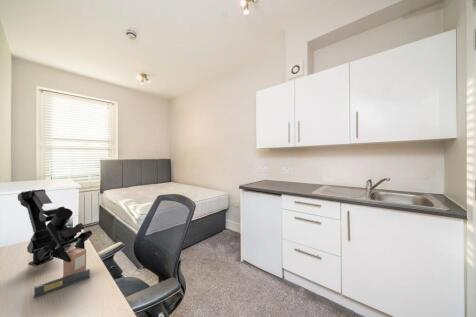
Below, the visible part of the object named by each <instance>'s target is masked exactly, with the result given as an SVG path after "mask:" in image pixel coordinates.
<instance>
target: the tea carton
mask: <svg viewBox="0 0 476 317" xmlns="http://www.w3.org/2000/svg"><path fill="white" fill-rule="evenodd" d="M65 252H66V253H67V254H68V256H69V257H70V259H71V261H70V262H66V261H64V260H62V261H63V263H62V264H63V265H62V266H63V267H62V268H63V270H62V277H66V276H69V275H72V274H75V273H78V272H80V271H83V270H86V269H87V249H86V248H85V249H83V248H75V247H74V248H73V249H71V250H69V251H65Z"/></svg>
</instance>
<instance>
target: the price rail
mask: <svg viewBox="0 0 476 317" xmlns="http://www.w3.org/2000/svg"><path fill="white" fill-rule="evenodd" d="M90 271H91V270H90V268H86V270H83V271H80V272H78V273H75V274H72V275H69V276H66V277H64V276H62V277H60V278H57V279H54V280H51V281H48V282H45V283H43V284H39V285H36V286H34V289H33V298H34V299H35V298H38V297H40V296H43V295H46V294H49V293H51V292H54V291H57V290H59V289H63V288H65V287H67V286H71V285H73V284H76V283H80V282H81V281H85V280H87V279H90V278H91V277H90V276H91V275H90V274H91V272H90Z"/></svg>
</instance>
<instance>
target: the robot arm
mask: <svg viewBox="0 0 476 317" xmlns="http://www.w3.org/2000/svg"><path fill="white" fill-rule="evenodd" d="M46 192H47V191H46V189H45V188H36V189H30V190H25V191H24V190H23V191H21V192H20V193H18V194H17V201H18V202H19V203H20V205H21V206H22V207H25V208H26V209H27V213H28V217H29V220H30V223H31V227H32V232H33V233H32V236H31V238H30V239H29V240H30V241H29V243H28V245H27V247H26V249H27V253H29V254H30V255H32V261H29V262H28V264H29V265H32V266H40V265H42V264H45V263H47V262H50V261H52V260H53V259H54V258H55V259H58V260H61V261H63V260H64V261H66V262H70V261H71V259H70V257H69V256H68V254H67V253H66V252H67V251H66V250H65V248H64V246H67V245H69V244H71V245H72V244H74V243H75V244H74V249H75V248H83V249H86V247H85V242H86V241H87V240H89V239H90V237H92V235H93V234H94V233H93V231H92V230H85V225H84V223H82V222H80V223H77V224H75V226H73V228H71V227H67V226H66V223H67V222H68V221H69V219H70V217H72V216H73V213H74V212H73V210H72V209H70V208H66V207H65V206H60V205H59V204H55V203H53V202H52V200H51V199H50V197H49V195H47V193H46ZM47 222H48V223H47ZM46 223H47V224H46ZM82 230H85V231H82ZM78 234H79V235H78ZM56 243H57V244H56Z"/></svg>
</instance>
